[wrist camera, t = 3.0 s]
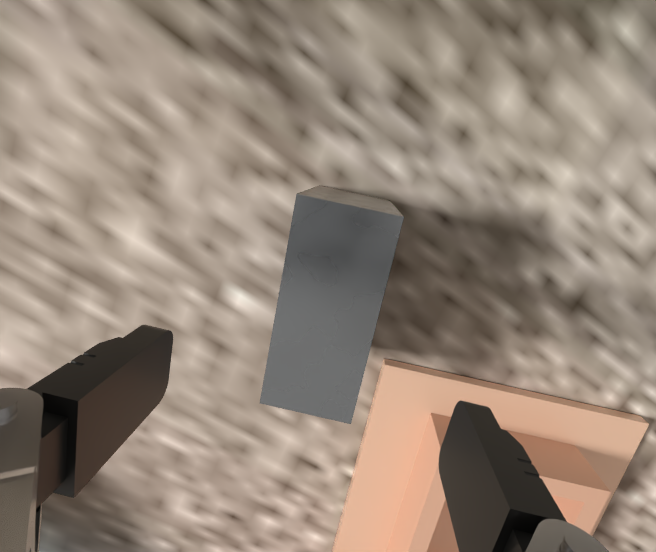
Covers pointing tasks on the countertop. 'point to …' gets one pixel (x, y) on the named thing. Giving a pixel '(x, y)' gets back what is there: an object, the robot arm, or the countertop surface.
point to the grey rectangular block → (329, 301)
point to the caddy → (426, 440)
